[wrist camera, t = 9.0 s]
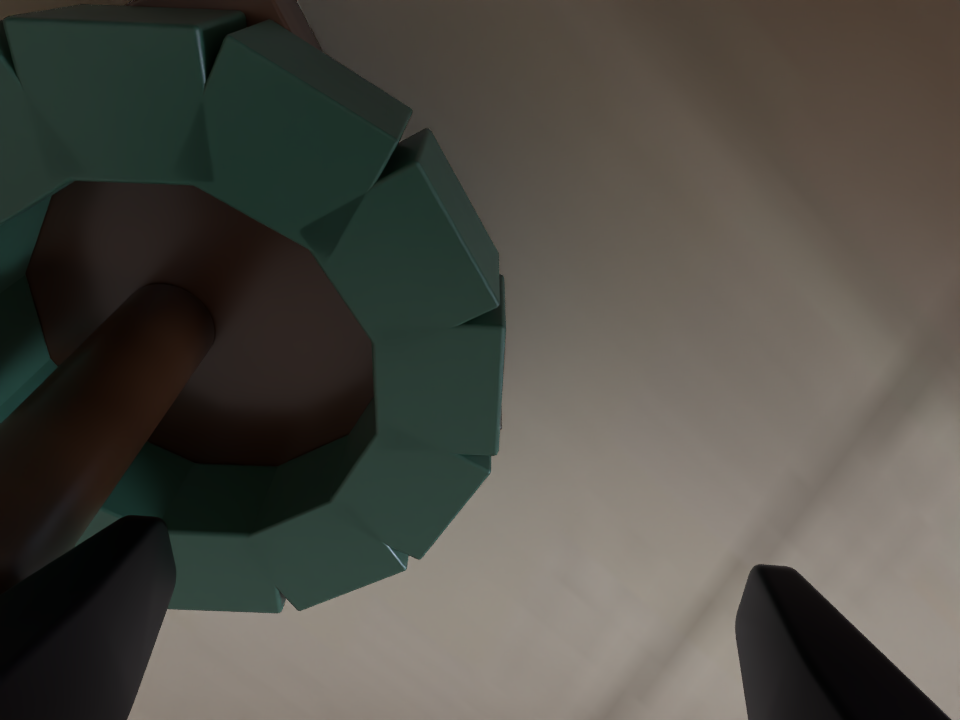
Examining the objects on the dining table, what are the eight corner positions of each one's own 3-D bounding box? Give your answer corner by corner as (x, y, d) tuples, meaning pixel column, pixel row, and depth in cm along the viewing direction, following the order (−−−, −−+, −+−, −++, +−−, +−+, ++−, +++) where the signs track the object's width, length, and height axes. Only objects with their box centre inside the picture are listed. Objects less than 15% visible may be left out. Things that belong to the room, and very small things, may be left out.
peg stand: (264, -61, 11) (-138, -60, 4) (502, 396, 15) (510, 800, 8) (-163, 179, 13) (-938, 465, 6) (147, 528, 17) (-97, 947, 10)
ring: (488, 546, 16) (488, 623, 14) (8, 528, 16) (-53, 603, 14) (518, 21, 11) (523, 37, 9) (-195, -8, 11) (-329, 3, 9)
